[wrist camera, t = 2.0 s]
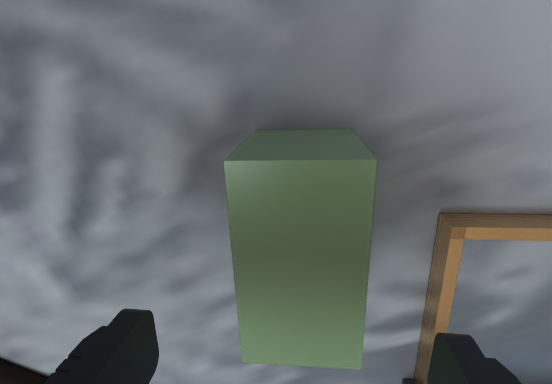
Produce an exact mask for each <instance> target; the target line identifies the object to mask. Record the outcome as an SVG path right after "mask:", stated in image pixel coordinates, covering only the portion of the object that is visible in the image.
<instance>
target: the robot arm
mask: <svg viewBox="0 0 552 384" xmlns="http://www.w3.org/2000/svg"><path fill="white" fill-rule="evenodd" d="M158 358H159V348H158V342H157V336H156V330H155V323H154V317H153V314H152V312H151V311H150V310H138V309H123V310H121V311H120V312H119V313H118V315H117V316H116V317H115V318H114V319H113V320H112V322H111V323H110V324H109V325H108V326H101V327H100V328H99V329H97V330H96V331H94V332H93V333H91V334H90V335H88V336H87V337H85V338H84V339H83V340H82V341H81V342H80V343H79V344H78V345H77V346H76V348H75V349H74V350H73V351H72V352H71V353H70V354H69V355H68V359H65V360H64V361H63V362H62V363H61V364H60V365H59V366H58V368H57V369H56V372H55V373H52V374H51V375H50V376H49V378H48V379H47V380H46V381H45V382H44V383H43V384H149V382H150V380H151V378H152V377H153V375H154V373H155V370H156V367H157V364H158ZM427 384H521V383H520V382H519V380H518V379H517V377H516V376H514V375H513V374H512V373H511V372H510V371H509V370H508V369H506V368H505V367H504V366H503V365H502V364H501V363H500V362H498V361H497V360H496V359H494V358H485V356H484V355H483V353H482V352H481V350H480V349H479V347H478V345H477V344H476V342H475V341H474V339H473V338H472V337H471V336H470V335H465V334H452V333H437V334H436V336H435V339H434V344H433V349H432V355H431V360H430V365H429V370H428V375H427Z"/></svg>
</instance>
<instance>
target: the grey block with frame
mask: <svg viewBox="0 0 552 384" xmlns="http://www.w3.org/2000/svg"><path fill="white" fill-rule="evenodd" d="M464 239H468V240H524V241H552V215H530V214H439V219H438V226H437V232H436V239H435V245H434V252H433V258H432V265H431V271H430V278H429V284H428V291H427V297H426V304H425V310H424V317H423V323H422V330H421V336H420V343H419V349H418V356H417V362H416V369H415V375H414V380H409V379H403V381H402V384H427V375H428V370H429V365H430V360H431V355H432V349H433V344H434V339H435V336H436V334H437V333H447V328H448V323H449V318H450V313H451V307H452V302H453V297H454V291H455V286H456V281H457V275H458V270H459V265H460V259H461V254H462V249H463V243H464Z"/></svg>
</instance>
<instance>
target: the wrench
mask: <svg viewBox="0 0 552 384" xmlns="http://www.w3.org/2000/svg"><path fill="white" fill-rule="evenodd" d="M46 380H47V378H44V377H42V376H40V375H37V374H35V373H33V372H31V371H28V370H26V369H24V368H21V367H19V366H16V365H14V364H11V363H9V362H7V361H4V360H2V359H0V384H43V383H44V382H45V381H46Z"/></svg>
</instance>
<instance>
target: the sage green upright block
mask: <svg viewBox="0 0 552 384" xmlns="http://www.w3.org/2000/svg"><path fill="white" fill-rule="evenodd" d="M223 163H224V173H225V184H226V195H227V206H228V217H229V227H230V238H231V249H232V260H233V271H234V281H235V292H236V303H237V314H238V325H239V335H240V346H241V357H242V363H258V364H274V365H290V366H307V367H323V368H339V369H355V370H361V365H362V352H363V338H364V325H365V312H366V299H367V286H368V273H369V260H370V247H371V233H372V220H373V207H374V194H375V181H376V168H377V159H376V158H375V156H374V155H373V154H372V153H371V152H370V150H369V149H368V148H367V147H366V146H365V144H364V143H363V142H362V141H361V139H360V138H359V137H358V136H357V135H356V133H355V132H354V131H353V130H352V129H307V130H255V131H254V132H253V133H252V134H251V135H250V136H249V137H248V138H247V139H246V140H245V141H244V142H243V143H242V144H241V145H240V146H239V147H237V148H236V149H235V150H234V151H233V152H232V153H231V154H230V155H229V156H228V157H227V158H226V159H225V160H224V161H223Z"/></svg>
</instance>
